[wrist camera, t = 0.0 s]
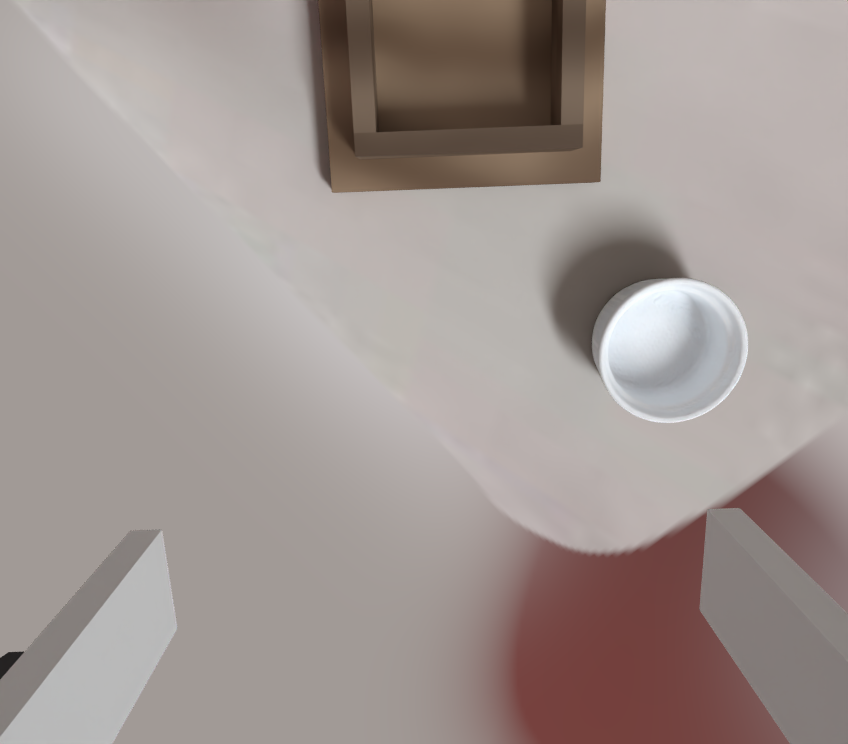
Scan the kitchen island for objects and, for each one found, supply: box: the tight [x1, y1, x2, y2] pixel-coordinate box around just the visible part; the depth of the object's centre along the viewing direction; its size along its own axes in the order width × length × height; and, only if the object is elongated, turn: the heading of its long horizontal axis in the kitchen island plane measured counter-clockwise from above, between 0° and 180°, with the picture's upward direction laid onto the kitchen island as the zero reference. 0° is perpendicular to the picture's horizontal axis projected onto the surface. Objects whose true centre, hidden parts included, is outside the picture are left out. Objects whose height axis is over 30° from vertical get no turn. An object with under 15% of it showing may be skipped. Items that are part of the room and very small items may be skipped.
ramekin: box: [592, 278, 748, 423], centre depth 41 cm, size 9×9×4 cm
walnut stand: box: [318, 0, 606, 193], centre depth 36 cm, size 16×16×4 cm
